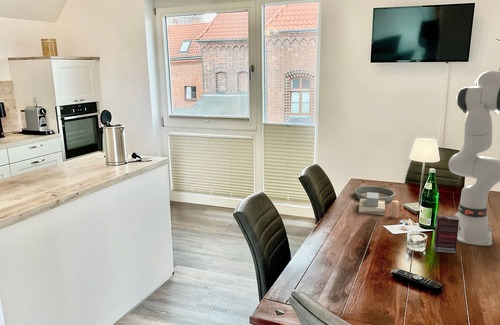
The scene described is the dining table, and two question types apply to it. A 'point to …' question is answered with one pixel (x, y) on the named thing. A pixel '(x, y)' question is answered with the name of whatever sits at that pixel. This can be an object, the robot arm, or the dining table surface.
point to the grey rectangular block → (372, 199)
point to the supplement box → (446, 233)
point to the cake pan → (375, 190)
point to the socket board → (372, 208)
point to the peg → (394, 209)
